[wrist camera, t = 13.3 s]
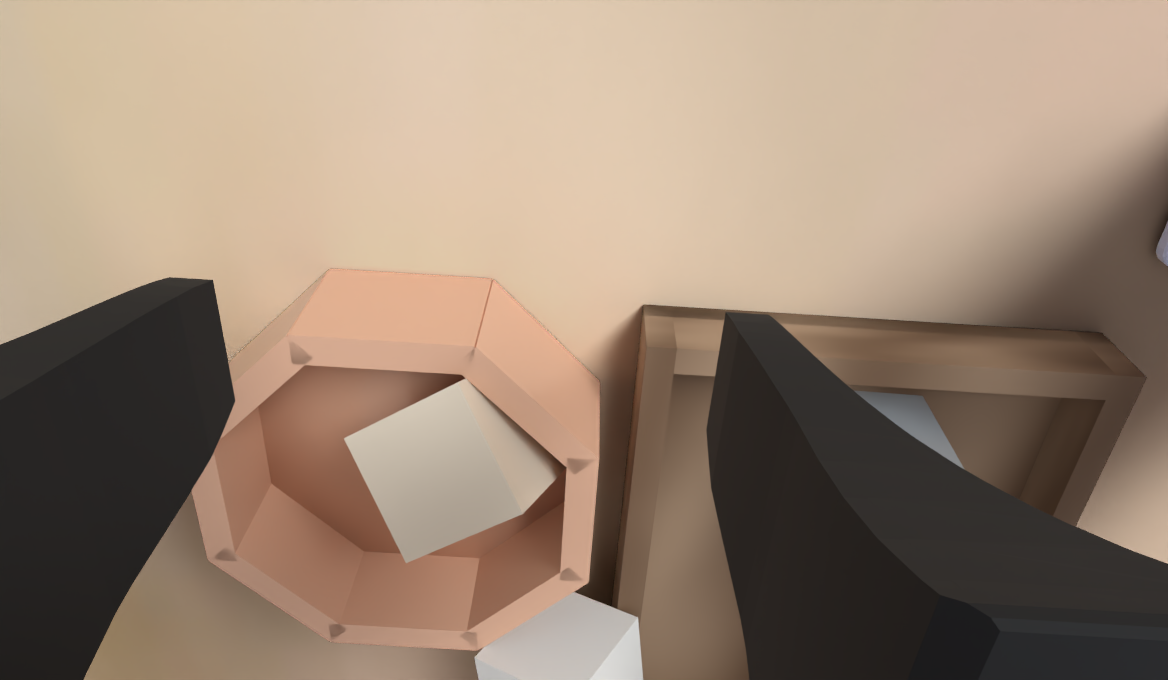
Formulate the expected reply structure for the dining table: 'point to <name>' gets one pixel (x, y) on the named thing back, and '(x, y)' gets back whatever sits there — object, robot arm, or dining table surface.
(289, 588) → the terracotta bowl
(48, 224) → the dining table surface
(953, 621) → the robot arm
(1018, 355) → the walnut tray
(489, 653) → the white block
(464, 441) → the beige block
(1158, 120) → the dining table surface
